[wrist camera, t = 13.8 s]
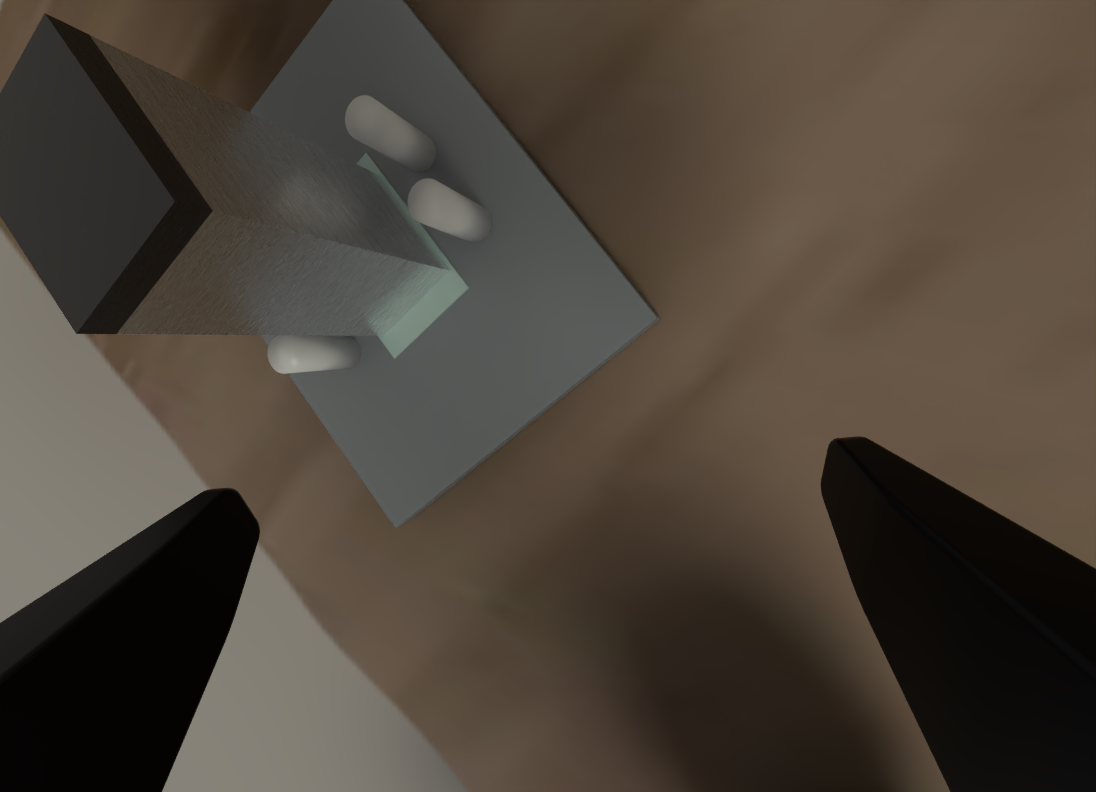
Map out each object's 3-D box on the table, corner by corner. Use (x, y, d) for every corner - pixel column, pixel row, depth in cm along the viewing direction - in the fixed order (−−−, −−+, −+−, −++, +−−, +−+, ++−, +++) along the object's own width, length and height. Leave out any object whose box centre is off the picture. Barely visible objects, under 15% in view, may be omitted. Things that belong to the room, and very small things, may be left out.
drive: (450, 270, 21) (174, 201, 10) (383, 336, 22) (76, 333, 11) (377, 174, 21) (44, 13, 11) (316, 243, 22) (-37, 159, 12)
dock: (661, 319, 20) (644, 313, 15) (410, 519, 24) (340, 561, 19) (384, -25, 21) (297, -120, 17) (199, 217, 26) (90, 192, 21)
